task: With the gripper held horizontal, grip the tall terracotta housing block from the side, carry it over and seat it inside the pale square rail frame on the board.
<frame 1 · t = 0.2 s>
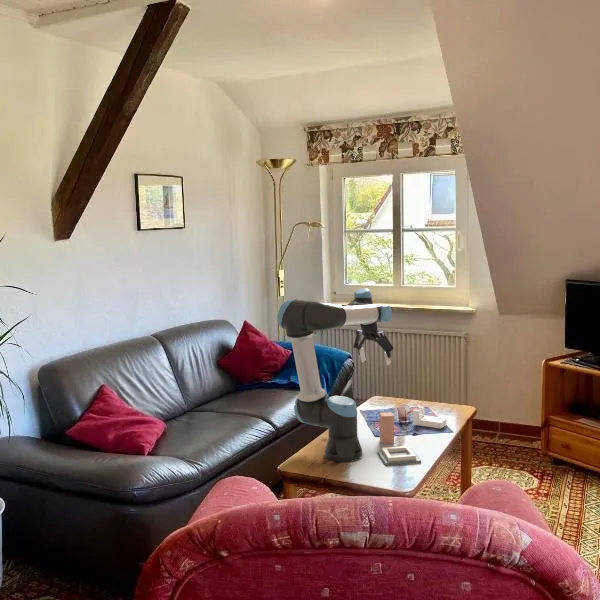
hand: (376, 362, 311), 27 cm above the table, tool tilted 15°, fingers open, 13 cm apart
seat frame: (398, 457, 265), on the table
bracket: (429, 426, 302), on the table
housing block: (387, 441, 283), on the table
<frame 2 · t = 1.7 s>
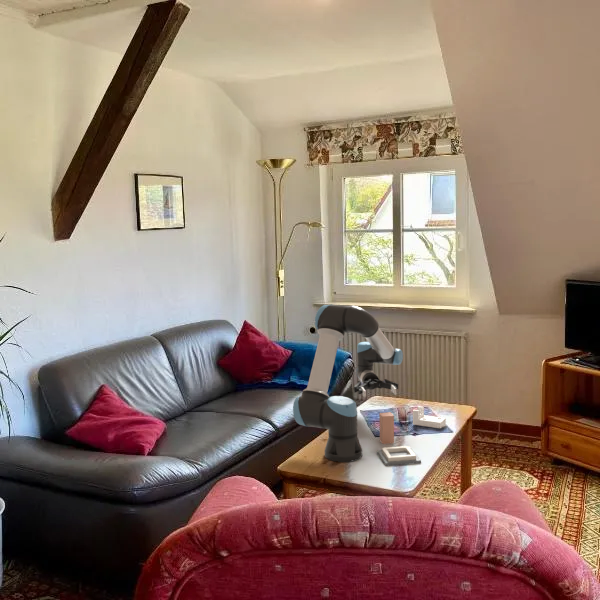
hand: (380, 392, 291), 18 cm above the table, tool horizontal, fingers open, 13 cm apart
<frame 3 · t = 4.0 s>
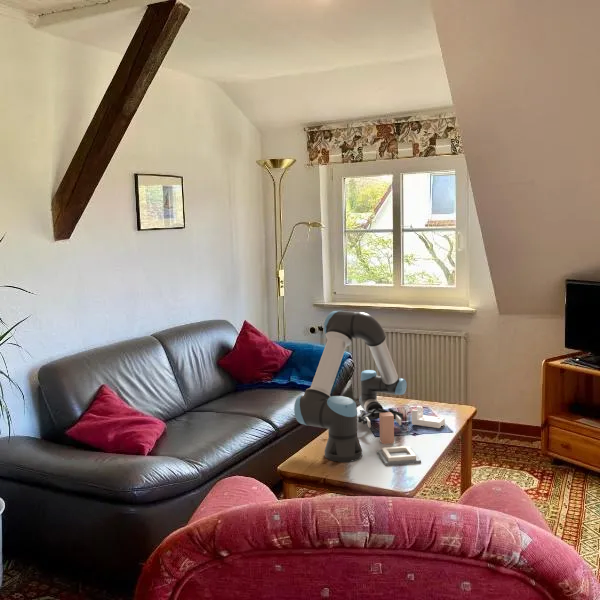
hand: (385, 423, 288), 6 cm above the table, tool horizontal, fingers open, 13 cm apart
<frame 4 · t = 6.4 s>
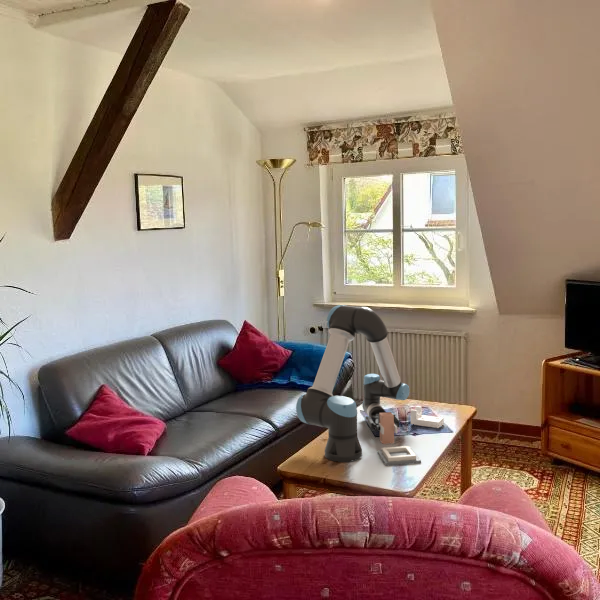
hand: (389, 430, 277), 7 cm above the table, tool horizontal, fingers closed on housing block, 5 cm apart
housing block: (386, 441, 283), on the table, touching gripper
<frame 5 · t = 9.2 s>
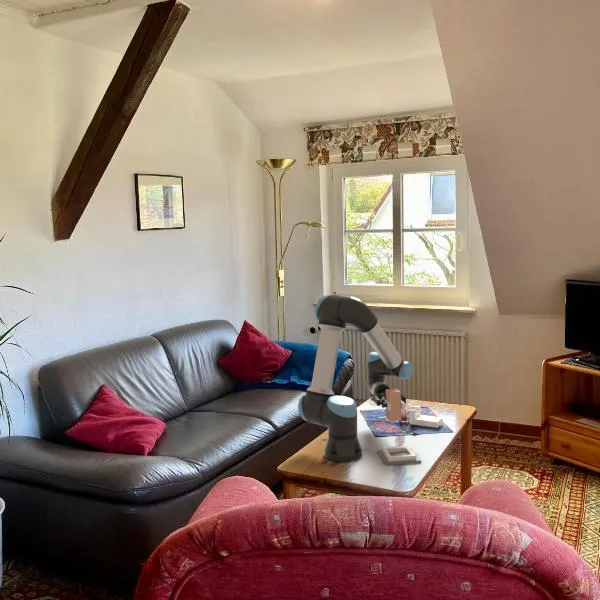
hand: (396, 407, 271), 18 cm above the table, tool horizontal, fingers closed on housing block, 5 cm apart
housing block: (393, 418, 277), point 12 cm above the table, touching gripper
when the fingers open (9 cm above the table, at t = 12.2 s): housing block drops 1 cm, resting on seat frame.
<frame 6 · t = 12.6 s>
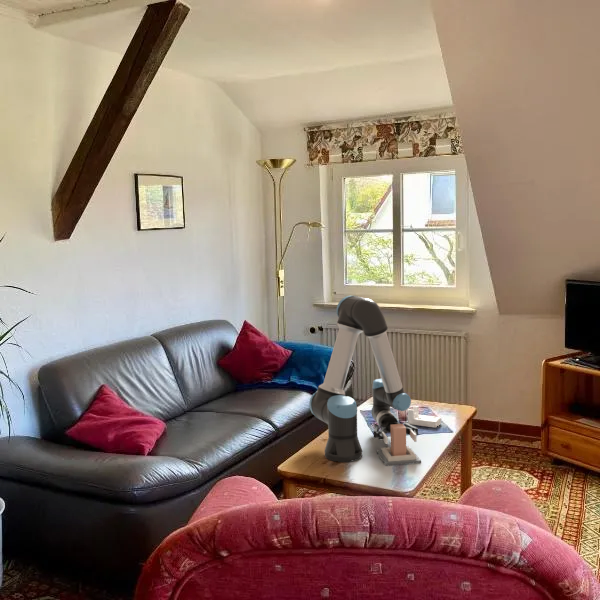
hand: (401, 439, 259), 9 cm above the table, tool horizontal, fingers open, 11 cm apart
housing block: (398, 455, 264), point 1 cm above the table, touching seat frame
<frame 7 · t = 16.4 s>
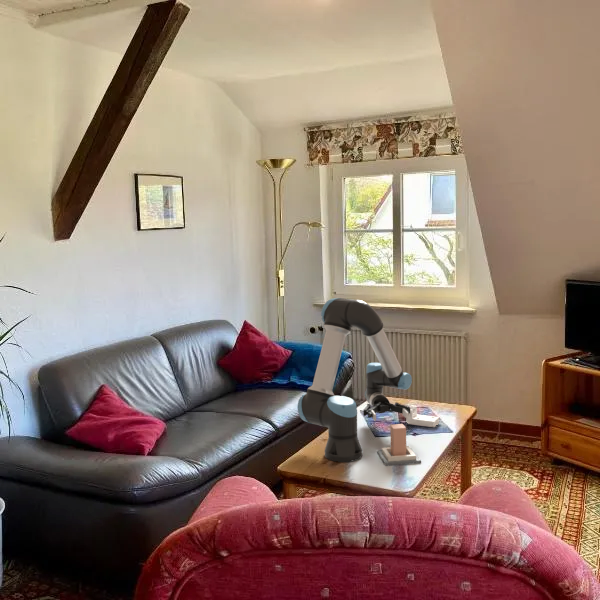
hand: (391, 416, 275), 13 cm above the table, tool horizontal, fingers open, 13 cm apart
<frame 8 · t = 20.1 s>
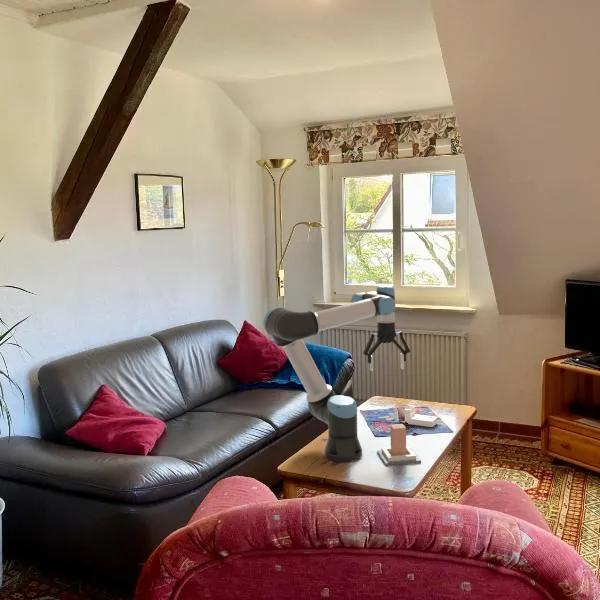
hand: (387, 369, 290), 29 cm above the table, tool pointing down, fingers open, 13 cm apart
at the end: housing block 0.1 cm off-centre on the seat frame, point 1.0 cm above the seat frame's base; housing block tilted 0°; the gripper is holding nothing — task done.
